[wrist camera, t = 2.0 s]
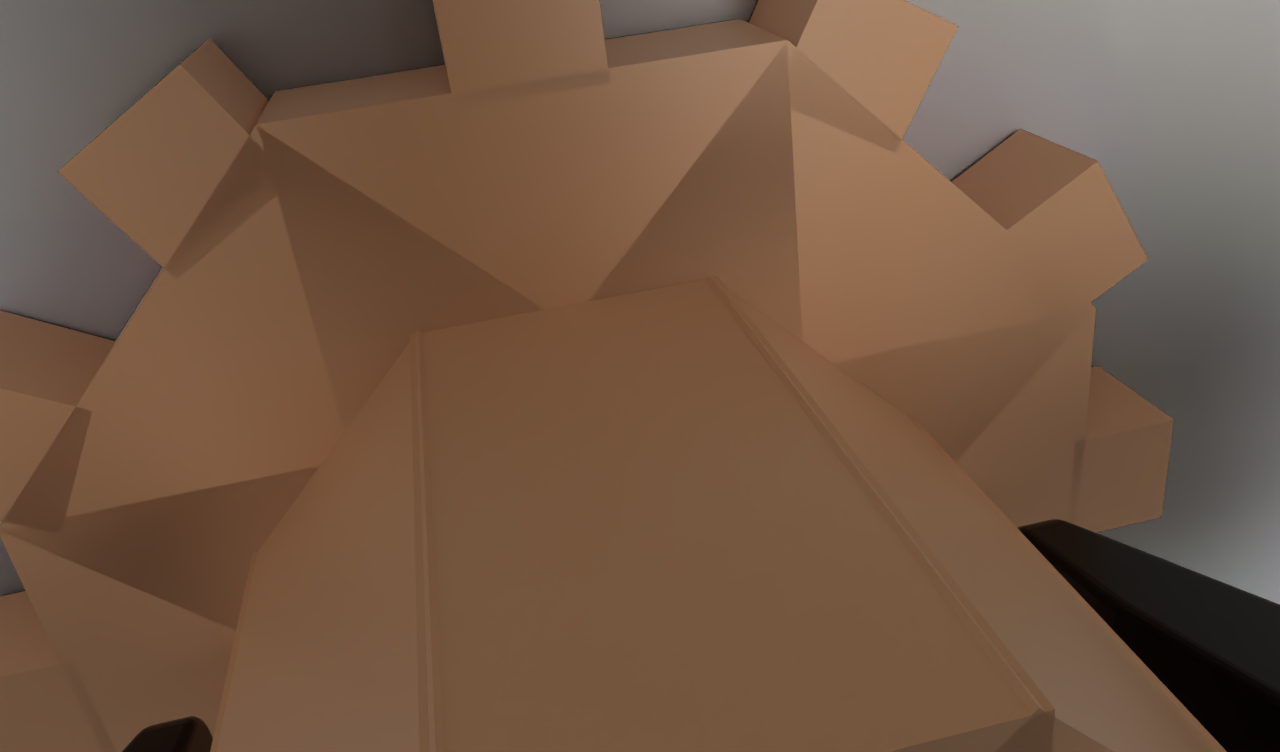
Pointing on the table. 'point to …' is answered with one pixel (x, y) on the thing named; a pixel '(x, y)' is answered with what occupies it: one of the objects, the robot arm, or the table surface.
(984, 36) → the table surface
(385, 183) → the planet gear
